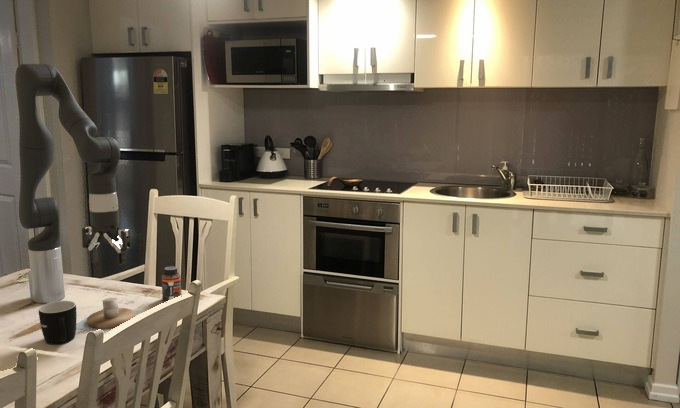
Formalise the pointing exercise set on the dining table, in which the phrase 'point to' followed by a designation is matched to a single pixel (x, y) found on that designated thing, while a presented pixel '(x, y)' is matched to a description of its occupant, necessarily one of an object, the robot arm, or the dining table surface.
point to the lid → (110, 315)
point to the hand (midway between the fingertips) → (108, 263)
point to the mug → (58, 322)
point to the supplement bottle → (171, 283)
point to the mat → (84, 326)
